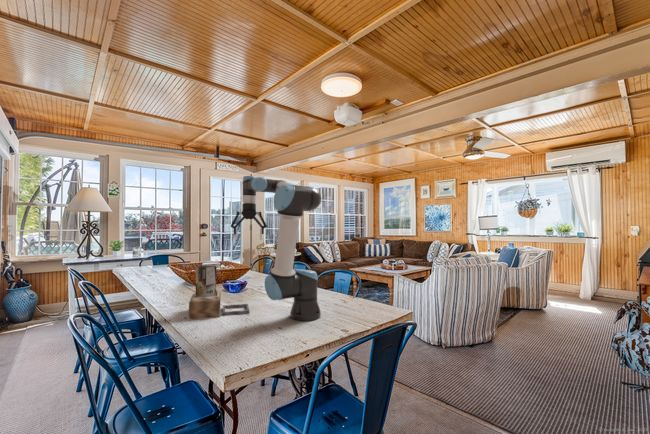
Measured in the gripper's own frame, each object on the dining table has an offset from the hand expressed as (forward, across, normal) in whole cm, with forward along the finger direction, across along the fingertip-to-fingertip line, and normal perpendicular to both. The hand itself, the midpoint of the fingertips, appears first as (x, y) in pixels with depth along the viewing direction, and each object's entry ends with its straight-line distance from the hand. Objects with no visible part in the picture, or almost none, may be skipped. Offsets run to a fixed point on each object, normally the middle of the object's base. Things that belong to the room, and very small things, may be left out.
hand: (248, 240), depth 180 cm
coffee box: (+29, +22, +12) cm, 38 cm away
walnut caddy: (+37, +14, +12) cm, 41 cm away
